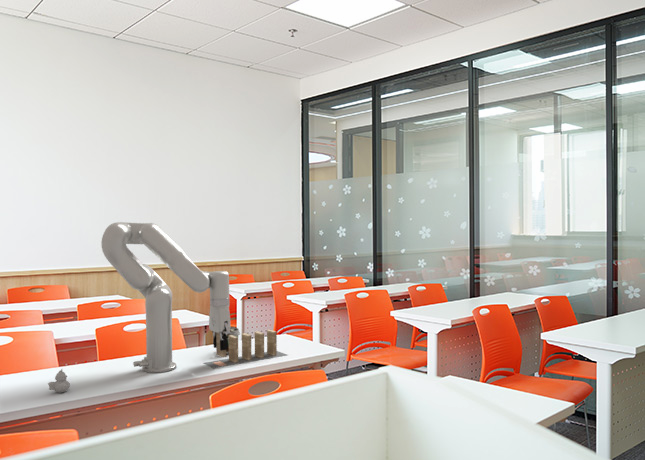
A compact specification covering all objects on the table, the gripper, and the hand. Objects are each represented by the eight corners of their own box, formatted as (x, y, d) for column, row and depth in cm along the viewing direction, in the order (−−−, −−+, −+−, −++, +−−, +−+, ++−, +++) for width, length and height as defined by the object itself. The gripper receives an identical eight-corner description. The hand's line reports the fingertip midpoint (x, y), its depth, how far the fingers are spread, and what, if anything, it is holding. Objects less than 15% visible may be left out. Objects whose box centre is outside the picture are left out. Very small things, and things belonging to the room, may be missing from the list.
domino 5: (273, 355, 228) (273, 332, 227) (267, 353, 232) (267, 330, 231) (276, 355, 229) (276, 331, 228) (270, 353, 233) (270, 329, 232)
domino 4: (260, 358, 224) (260, 333, 224) (254, 355, 228) (254, 331, 228) (264, 357, 225) (264, 333, 225) (258, 355, 229) (257, 331, 229)
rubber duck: (71, 392, 181) (71, 368, 181) (49, 396, 177) (49, 371, 177) (68, 388, 186) (68, 365, 185) (47, 392, 182) (46, 368, 182)
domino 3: (248, 360, 220) (247, 335, 220) (241, 357, 224) (241, 333, 224) (251, 359, 221) (251, 335, 221) (245, 357, 225) (245, 333, 225)
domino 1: (222, 357, 213) (221, 331, 213) (216, 354, 217) (216, 329, 217) (225, 356, 214) (225, 330, 214) (220, 353, 218) (219, 328, 218)
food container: (237, 356, 228) (237, 332, 228) (222, 356, 229) (222, 332, 228) (242, 349, 241) (242, 326, 241) (228, 349, 241) (228, 326, 241)
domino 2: (234, 362, 217) (234, 337, 217) (228, 360, 221) (228, 335, 221) (238, 362, 218) (238, 337, 218) (232, 359, 222) (232, 335, 222)
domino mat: (213, 369, 209) (213, 368, 209) (202, 364, 217) (202, 362, 217) (288, 355, 229) (288, 354, 229) (275, 351, 237) (275, 350, 237)
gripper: (201, 301, 220) (202, 346, 220) (220, 306, 206) (222, 354, 207) (218, 299, 224) (219, 343, 225) (238, 304, 211) (239, 351, 211)
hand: (220, 348), depth 216 cm, fingers closed on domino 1, 4 cm apart
